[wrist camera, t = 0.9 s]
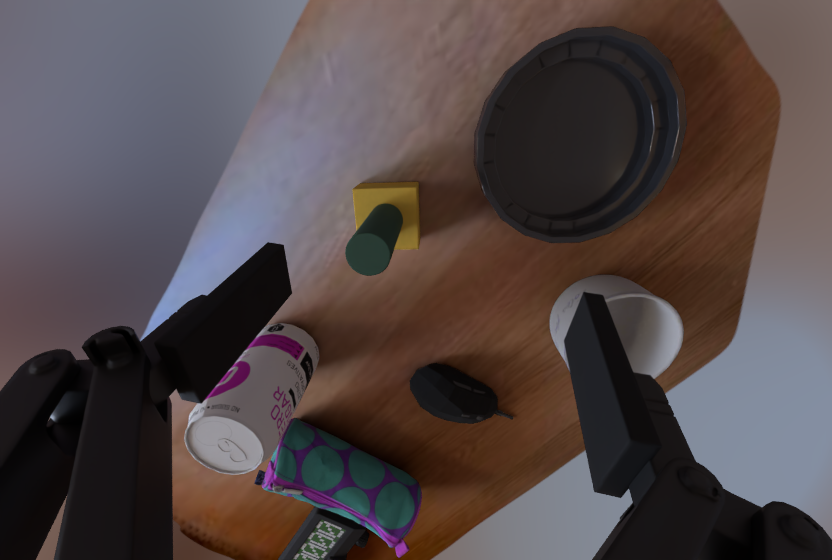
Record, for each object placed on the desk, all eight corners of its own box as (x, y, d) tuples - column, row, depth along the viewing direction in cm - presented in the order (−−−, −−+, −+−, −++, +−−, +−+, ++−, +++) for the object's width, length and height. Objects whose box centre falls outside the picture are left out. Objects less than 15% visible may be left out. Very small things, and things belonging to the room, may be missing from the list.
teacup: (551, 260, 39) (577, 292, 31) (654, 265, 38) (705, 298, 31) (531, 366, 44) (549, 414, 37) (621, 371, 44) (657, 421, 37)
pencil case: (273, 441, 52) (240, 506, 43) (298, 402, 49) (267, 463, 40) (398, 498, 55) (390, 569, 46) (428, 465, 52) (426, 534, 43)
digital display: (320, 604, 62) (267, 583, 61) (325, 582, 65) (275, 562, 64) (374, 541, 55) (315, 515, 53) (378, 520, 58) (322, 495, 56)
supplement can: (243, 338, 45) (157, 432, 31) (294, 309, 43) (226, 397, 29) (284, 383, 47) (221, 489, 34) (334, 359, 45) (289, 460, 32)
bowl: (476, 42, 31) (480, 33, 28) (683, 31, 30) (712, 20, 27) (471, 234, 38) (474, 244, 35) (639, 231, 37) (659, 241, 34)
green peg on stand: (359, 183, 37) (319, 213, 24) (418, 181, 36) (408, 211, 24) (365, 239, 39) (331, 293, 27) (420, 238, 39) (412, 293, 26)
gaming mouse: (499, 432, 49) (504, 457, 45) (402, 387, 47) (399, 410, 43) (526, 400, 46) (533, 424, 43) (425, 352, 44) (424, 373, 41)
